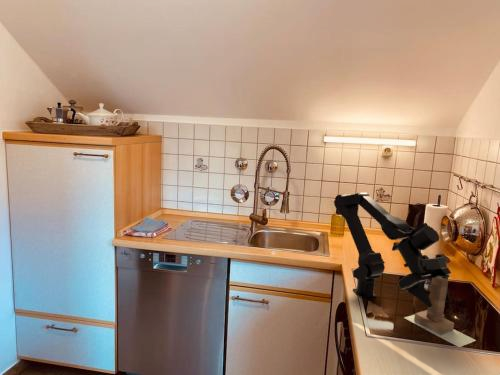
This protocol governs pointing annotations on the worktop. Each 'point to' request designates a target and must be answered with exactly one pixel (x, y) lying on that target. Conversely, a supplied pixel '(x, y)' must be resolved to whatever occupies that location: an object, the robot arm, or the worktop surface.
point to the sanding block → (436, 309)
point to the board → (447, 335)
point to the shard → (375, 309)
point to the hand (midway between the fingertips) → (440, 304)
